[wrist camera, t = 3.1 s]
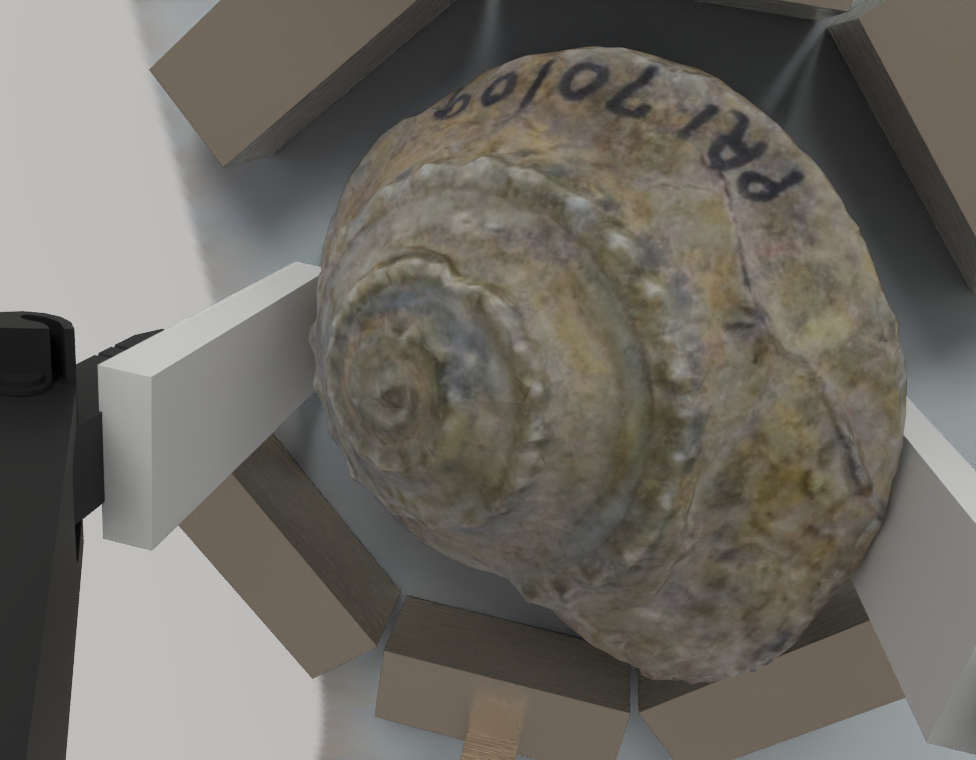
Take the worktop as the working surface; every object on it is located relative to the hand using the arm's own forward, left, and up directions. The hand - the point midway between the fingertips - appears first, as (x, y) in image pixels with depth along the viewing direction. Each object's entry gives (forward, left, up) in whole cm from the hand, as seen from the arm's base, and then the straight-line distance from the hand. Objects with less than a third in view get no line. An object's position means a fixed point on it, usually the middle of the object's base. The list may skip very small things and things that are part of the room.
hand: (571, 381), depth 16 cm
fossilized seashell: (0, 0, -1) cm, 1 cm away
